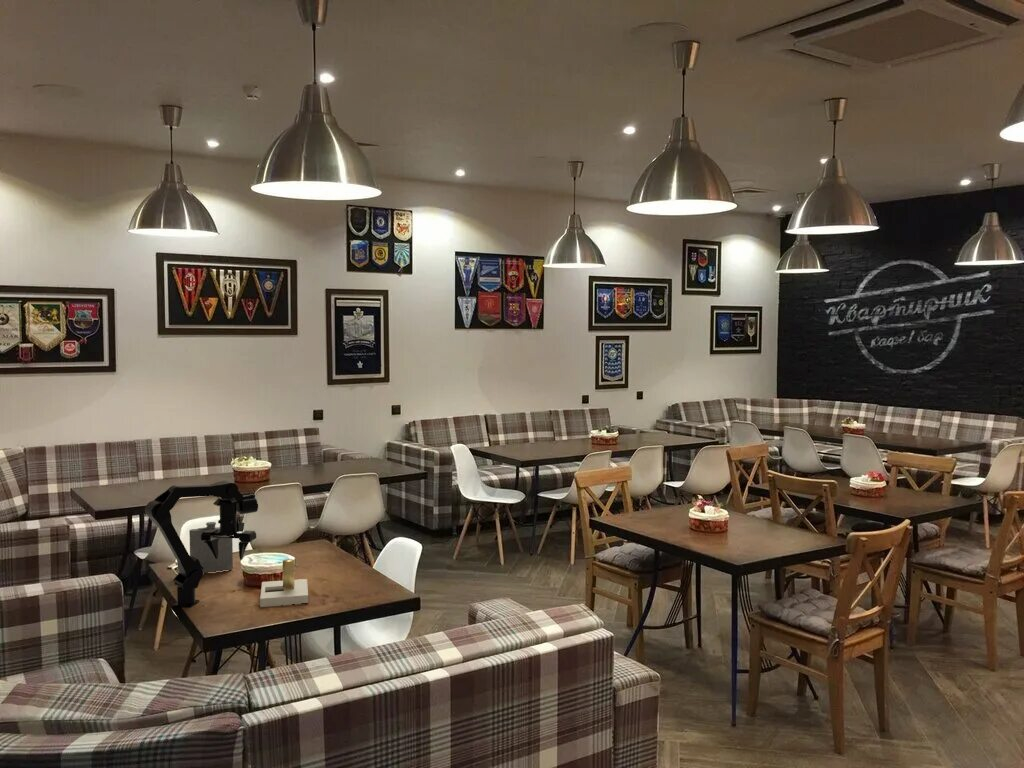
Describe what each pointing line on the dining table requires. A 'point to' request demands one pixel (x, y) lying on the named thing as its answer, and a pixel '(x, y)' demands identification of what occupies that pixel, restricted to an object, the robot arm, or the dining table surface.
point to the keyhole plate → (283, 593)
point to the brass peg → (288, 574)
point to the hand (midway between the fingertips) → (229, 559)
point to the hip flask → (205, 553)
